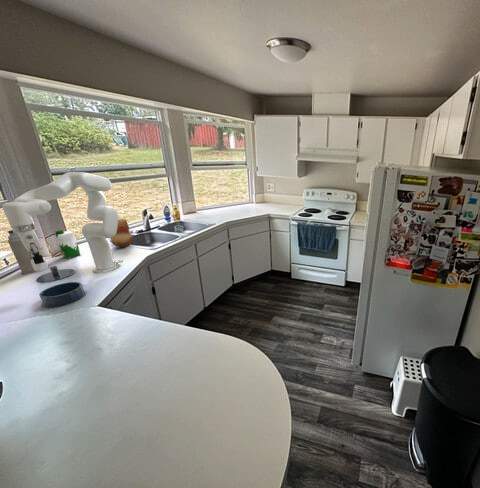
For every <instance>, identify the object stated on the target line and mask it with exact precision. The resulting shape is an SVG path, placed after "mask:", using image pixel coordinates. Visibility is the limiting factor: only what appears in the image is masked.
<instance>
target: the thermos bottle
mask: <svg viewBox="0 0 480 488" xmlns="http://www.w3.org/2000/svg"><path fill="white" fill-rule="evenodd" d="M7 234H8V236H7V239H8V240H7V243H8V245H9V247H10V249H11V251H12V254H13V256H14V258H15V260H16V262H17V265H18V267H19V269H20V271H21V274H23V275H28V274H33V273H36V272H38V271H35V270H34V268H33V266H32V264H31V262H30V261H31V260H32V258H31V256H30V253H29V251H28V250H27V249H26V248H25V246H24V245H23V243H22V241H21V239H20V237H19V235H18V233H13V230H12V229H11V230H8V231H7Z"/></svg>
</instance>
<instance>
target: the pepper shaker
mask: <svg viewBox="0 0 480 488" xmlns="http://www.w3.org/2000/svg"><path fill="white" fill-rule="evenodd" d="M30 255H31V257H33V256H32V254H30ZM43 260H44V263H40V264H35V263H34V260H33V258H32V260H31V261H30V262H31V264H32V266H33V268H34V270H35V271H37V272H43V271H46V270H48V269H50V266H49V264H48V262H47V260H46V258H45V257H43Z"/></svg>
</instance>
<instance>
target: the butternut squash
mask: <svg viewBox="0 0 480 488" xmlns="http://www.w3.org/2000/svg"><path fill="white" fill-rule="evenodd" d="M110 242H111V244H112V245H113V246H115V247H117V248H118V247H120V248H125V247H129V246H130V245H132V244H133V242H134V237H133V234H132V233H131V232H130V226H129V224H128V220H127V218H126V217H124V216H121V215H118V225H117V233H116V235H115V236H114V237H113V238H110Z"/></svg>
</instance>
